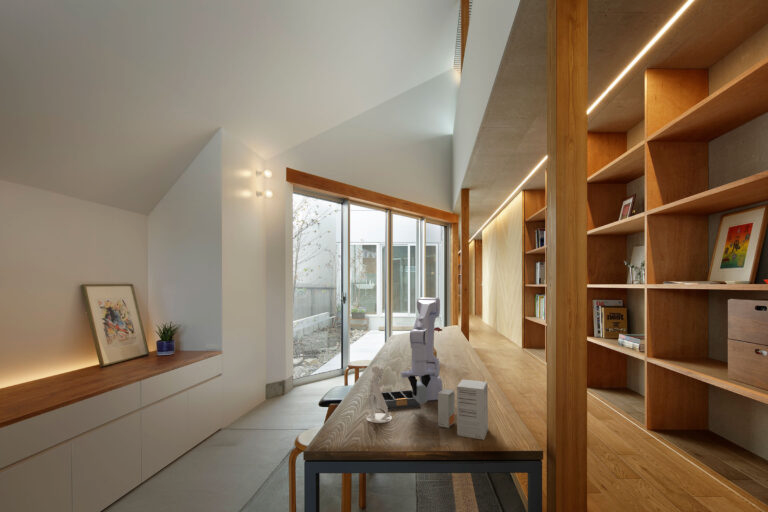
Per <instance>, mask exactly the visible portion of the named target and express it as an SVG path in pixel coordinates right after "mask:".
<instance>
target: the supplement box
mask: <svg viewBox="0 0 768 512" xmlns="http://www.w3.org/2000/svg"><path fill="white" fill-rule="evenodd" d="M488 390H489V389H488V382H487V381H480V380H471V379H461V381H460V382H459V383H458V384H457V385H456V417H457V418H456V423H457V424H456V426H457V428H456V429H457V431H456V434H457V437H458V436H460V437H463V438H464V437H465V438H472V439H479V440H485V438H486V437H487V433H488V430H489V414H488V413H489V411H488V407H489V406H488V405H489V403H488V402H489V401H488V398H489V397H488V396H489V395H488V393H489V392H488Z"/></svg>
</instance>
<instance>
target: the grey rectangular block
mask: <svg viewBox="0 0 768 512" xmlns="http://www.w3.org/2000/svg"><path fill="white" fill-rule="evenodd" d="M416 389H417V395H416V396H414V395H413V398H414V399H415V400H416V401H417V402H418V403H420V404H426V403H427V402H428V401H427V392H426V386H425V385H424V384H422V383H421V382H420V380H417V387H416Z"/></svg>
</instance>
